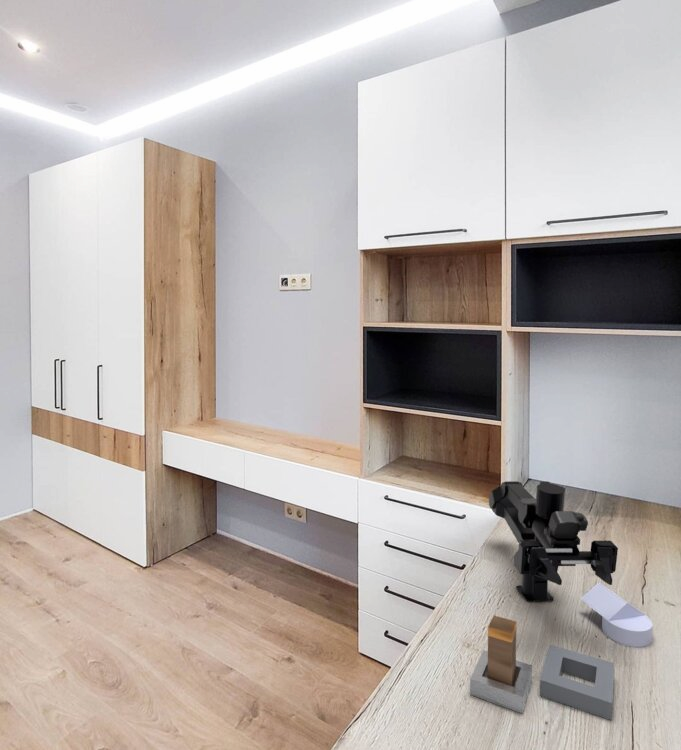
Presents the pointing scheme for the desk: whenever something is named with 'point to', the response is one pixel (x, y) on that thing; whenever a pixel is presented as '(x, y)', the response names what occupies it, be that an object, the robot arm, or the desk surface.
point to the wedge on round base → (619, 617)
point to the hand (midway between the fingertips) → (585, 582)
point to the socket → (573, 691)
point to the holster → (501, 685)
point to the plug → (502, 650)
